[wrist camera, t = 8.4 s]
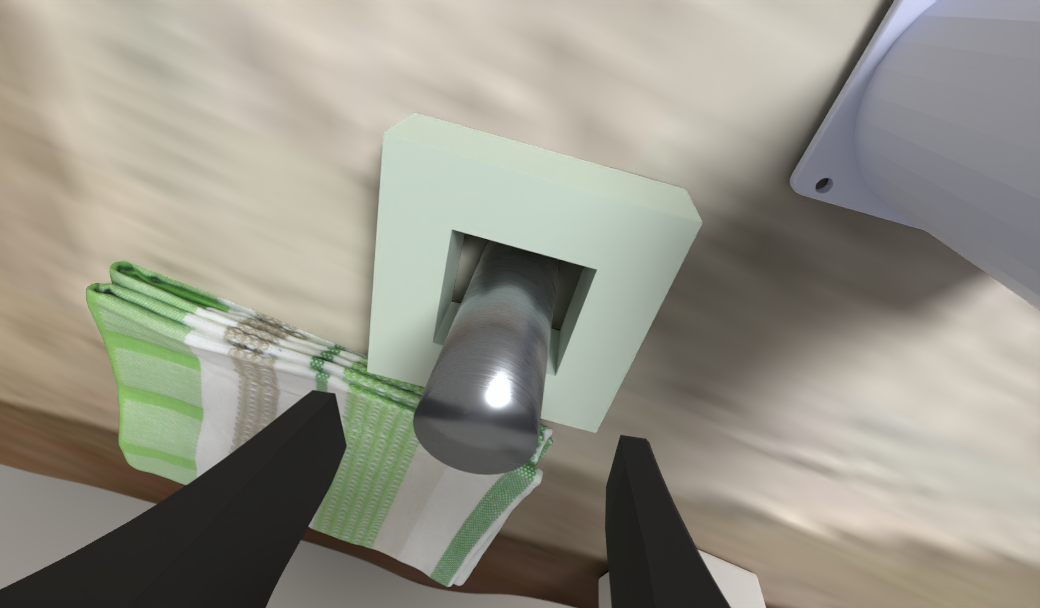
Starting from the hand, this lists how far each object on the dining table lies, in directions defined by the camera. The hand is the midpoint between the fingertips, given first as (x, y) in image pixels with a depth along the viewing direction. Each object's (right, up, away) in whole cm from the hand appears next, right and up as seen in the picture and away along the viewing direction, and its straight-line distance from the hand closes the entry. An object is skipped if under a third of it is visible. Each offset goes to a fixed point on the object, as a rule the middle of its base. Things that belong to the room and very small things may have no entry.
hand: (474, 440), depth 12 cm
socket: (+1, +5, +7) cm, 9 cm away
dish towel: (-10, -4, +16) cm, 20 cm away
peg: (+1, +5, +7) cm, 9 cm away
